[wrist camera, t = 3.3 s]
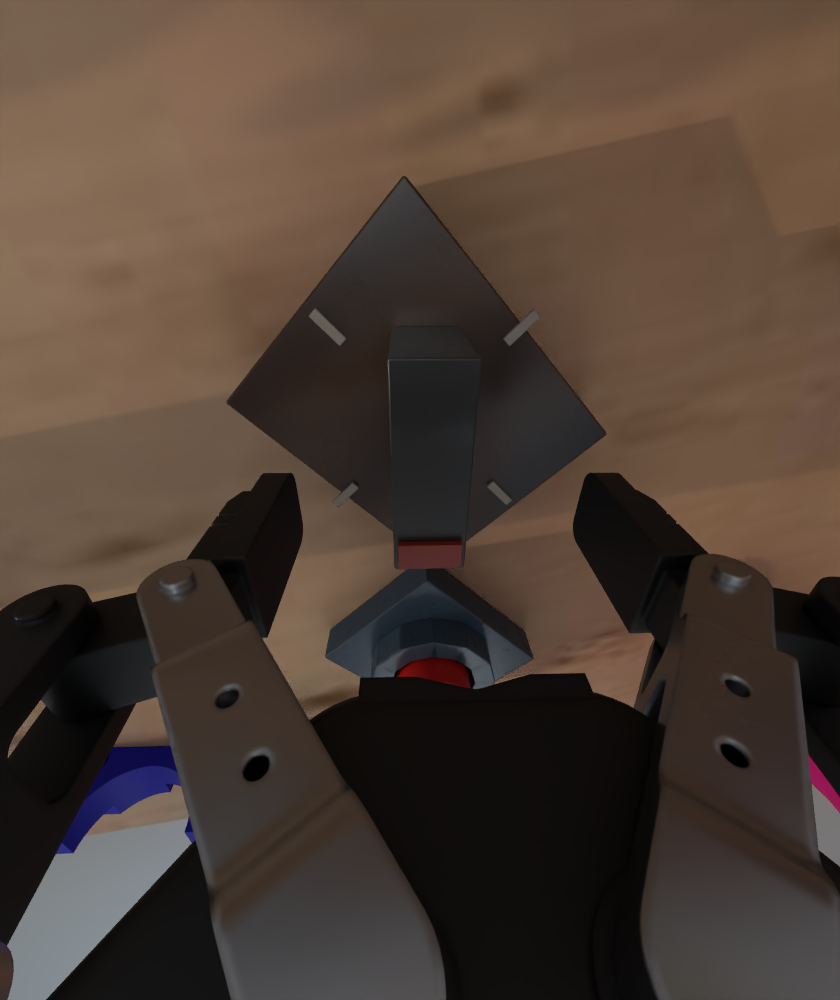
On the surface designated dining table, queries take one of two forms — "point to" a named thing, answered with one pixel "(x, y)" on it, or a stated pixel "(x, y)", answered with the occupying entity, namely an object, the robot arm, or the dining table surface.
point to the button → (437, 671)
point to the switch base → (364, 368)
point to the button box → (428, 630)
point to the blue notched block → (124, 788)
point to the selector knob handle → (431, 443)
